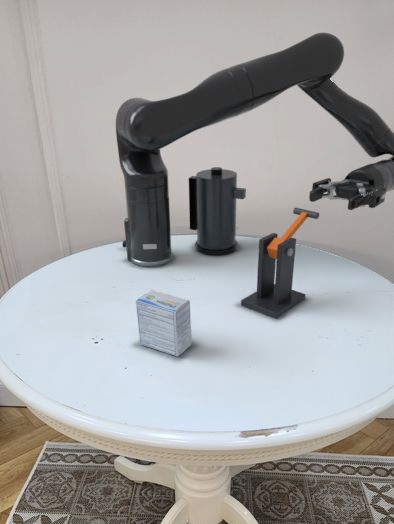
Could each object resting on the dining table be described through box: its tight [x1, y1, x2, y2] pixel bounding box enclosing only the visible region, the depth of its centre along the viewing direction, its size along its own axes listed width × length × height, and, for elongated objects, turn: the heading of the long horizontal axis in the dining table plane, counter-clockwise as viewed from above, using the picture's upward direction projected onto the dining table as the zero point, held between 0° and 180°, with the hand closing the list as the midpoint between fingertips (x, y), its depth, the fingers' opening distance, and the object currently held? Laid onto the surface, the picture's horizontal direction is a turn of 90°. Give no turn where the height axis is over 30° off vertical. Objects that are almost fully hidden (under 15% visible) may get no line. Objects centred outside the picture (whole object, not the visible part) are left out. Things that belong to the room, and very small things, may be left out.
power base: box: [240, 232, 306, 319], centre depth 99 cm, size 10×8×13 cm
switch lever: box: [267, 207, 320, 260], centre depth 98 cm, size 12×5×2 cm, turn 139°
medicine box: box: [135, 289, 193, 357], centre depth 87 cm, size 8×4×9 cm, turn 58°
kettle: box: [188, 166, 247, 257], centre depth 122 cm, size 13×10×18 cm
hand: (330, 200), depth 105 cm, fingers open, 8 cm apart
